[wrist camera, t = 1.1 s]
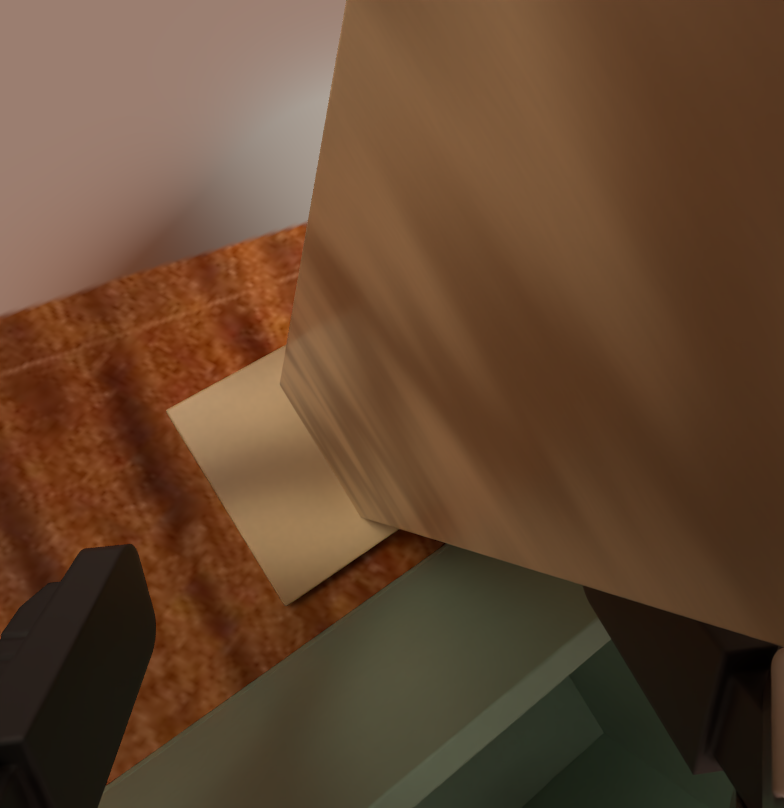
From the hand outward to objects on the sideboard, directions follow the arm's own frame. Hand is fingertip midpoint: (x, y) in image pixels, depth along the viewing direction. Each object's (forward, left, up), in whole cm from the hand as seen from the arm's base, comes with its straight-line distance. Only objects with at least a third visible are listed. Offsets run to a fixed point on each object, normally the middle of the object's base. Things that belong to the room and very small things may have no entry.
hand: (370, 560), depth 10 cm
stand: (-2, +3, -14) cm, 15 cm away
